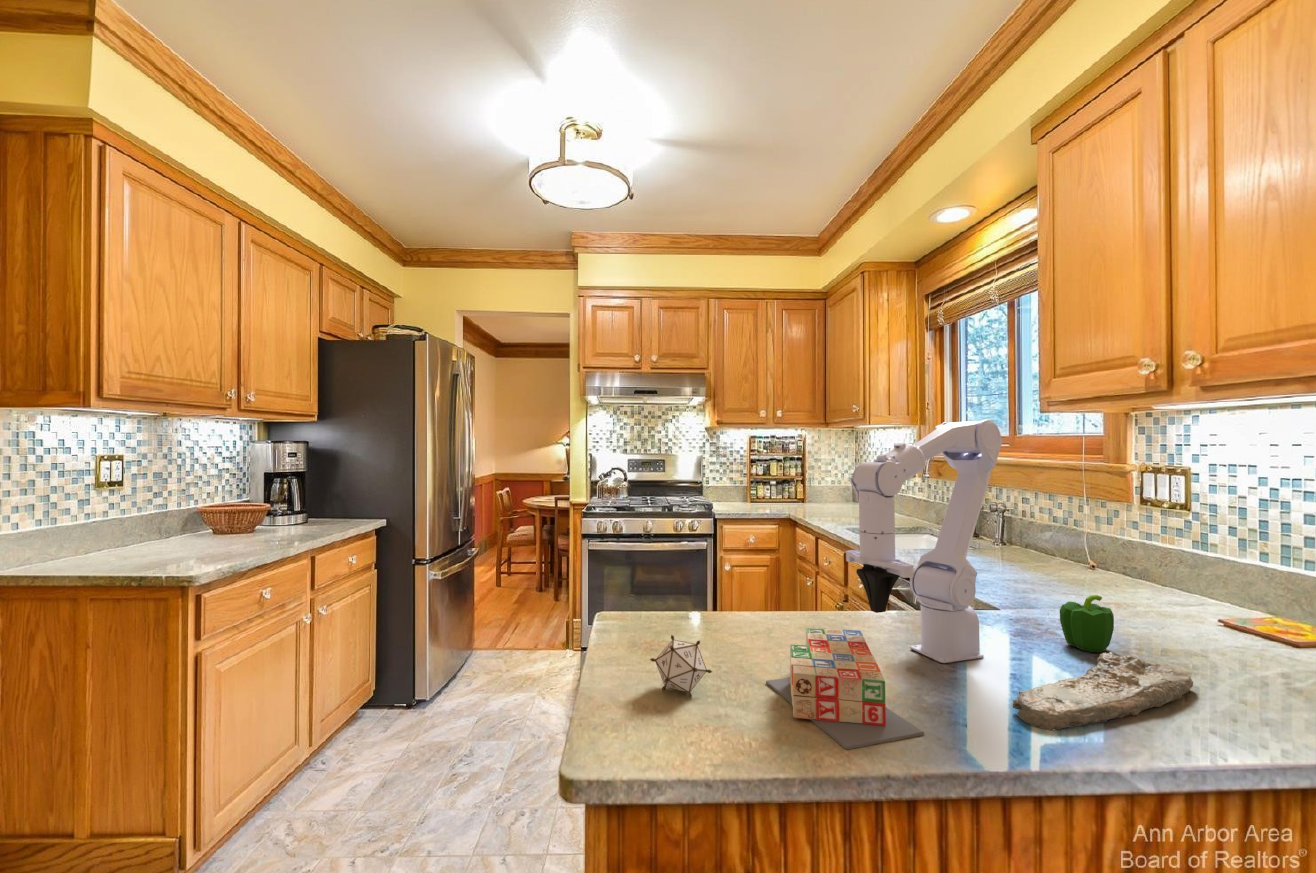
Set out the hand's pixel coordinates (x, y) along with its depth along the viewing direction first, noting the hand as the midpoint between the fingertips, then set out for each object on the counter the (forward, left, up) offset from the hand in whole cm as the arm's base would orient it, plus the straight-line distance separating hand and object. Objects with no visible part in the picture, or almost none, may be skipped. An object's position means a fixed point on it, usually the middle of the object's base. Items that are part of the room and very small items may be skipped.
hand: (878, 611), depth 96 cm
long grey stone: (-24, +20, -10) cm, 33 cm away
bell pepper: (-44, +4, -10) cm, 45 cm away
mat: (+15, +10, -10) cm, 20 cm away
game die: (+35, -2, -10) cm, 37 cm away
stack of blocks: (+8, +8, -6) cm, 13 cm away
